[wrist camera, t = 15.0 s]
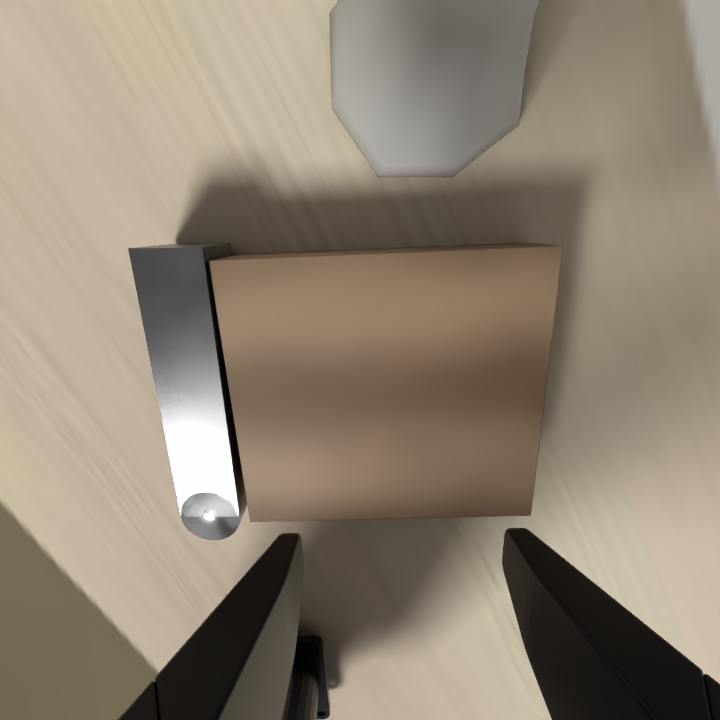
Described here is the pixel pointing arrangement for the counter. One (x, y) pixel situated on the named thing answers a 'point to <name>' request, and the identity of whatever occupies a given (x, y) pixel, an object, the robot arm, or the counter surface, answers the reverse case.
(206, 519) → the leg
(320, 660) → the robot arm
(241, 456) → the tan square panel
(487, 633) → the counter surface
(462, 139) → the flask
